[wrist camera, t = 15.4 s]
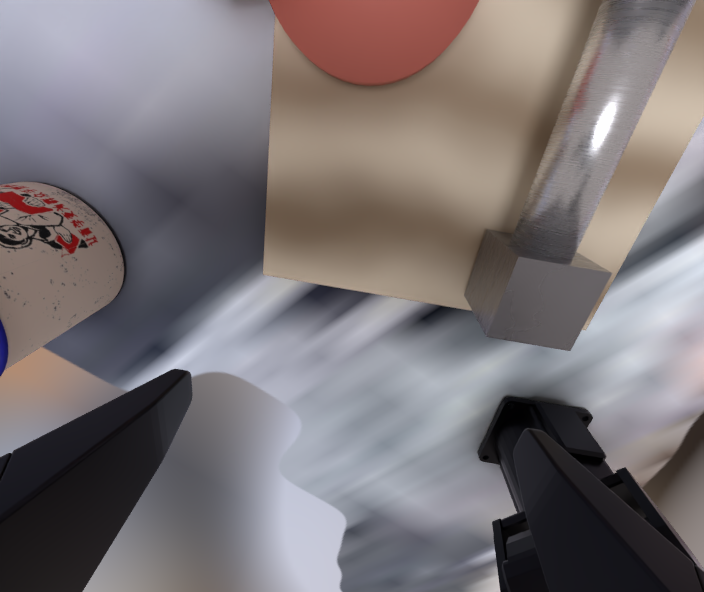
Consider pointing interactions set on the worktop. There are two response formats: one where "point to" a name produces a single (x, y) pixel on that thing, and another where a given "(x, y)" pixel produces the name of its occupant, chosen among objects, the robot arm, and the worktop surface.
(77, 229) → the teacup with lid
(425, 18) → the handwheel
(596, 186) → the grey rod with block
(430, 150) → the base board
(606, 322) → the worktop surface
